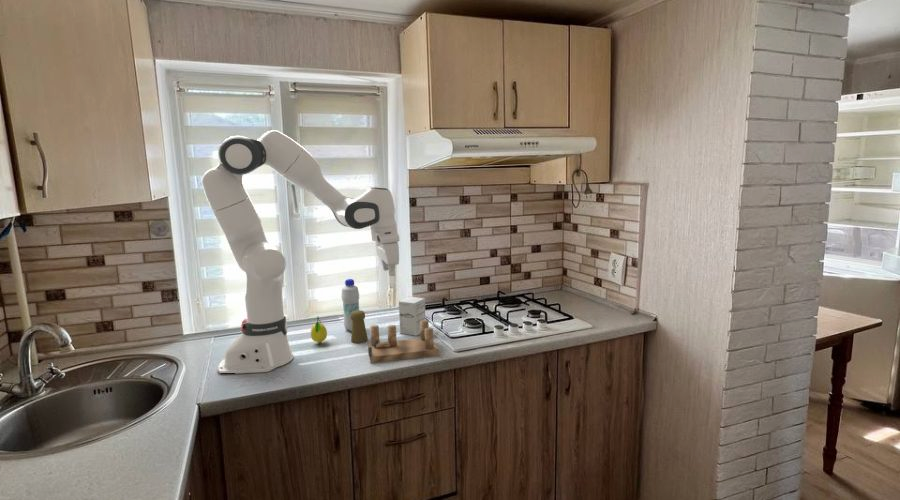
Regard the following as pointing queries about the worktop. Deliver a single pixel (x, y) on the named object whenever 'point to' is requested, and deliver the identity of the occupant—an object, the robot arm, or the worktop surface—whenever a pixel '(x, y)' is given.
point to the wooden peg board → (403, 346)
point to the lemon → (318, 332)
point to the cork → (358, 327)
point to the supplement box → (411, 315)
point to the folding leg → (391, 338)
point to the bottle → (349, 302)
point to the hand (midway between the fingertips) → (389, 272)
